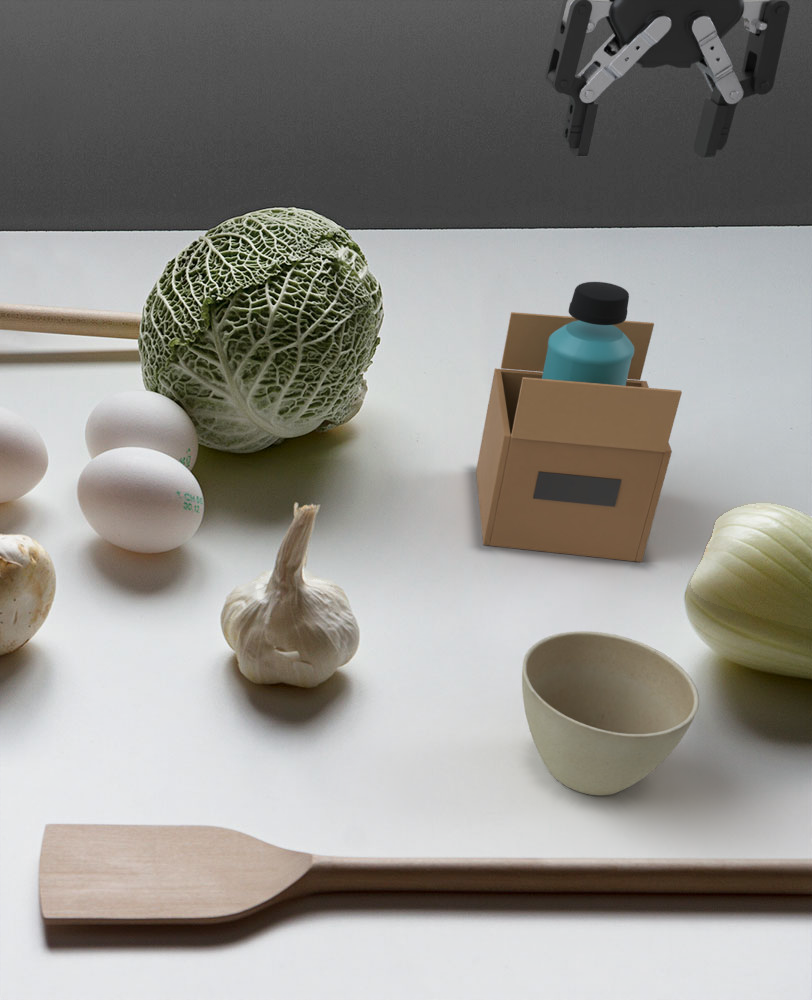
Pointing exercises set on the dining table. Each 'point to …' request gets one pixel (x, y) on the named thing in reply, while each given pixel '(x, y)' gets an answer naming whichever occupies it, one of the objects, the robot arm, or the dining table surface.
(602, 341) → the beverage bottle
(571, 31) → the robot arm
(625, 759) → the beige bowl
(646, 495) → the carton
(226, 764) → the dining table surface
